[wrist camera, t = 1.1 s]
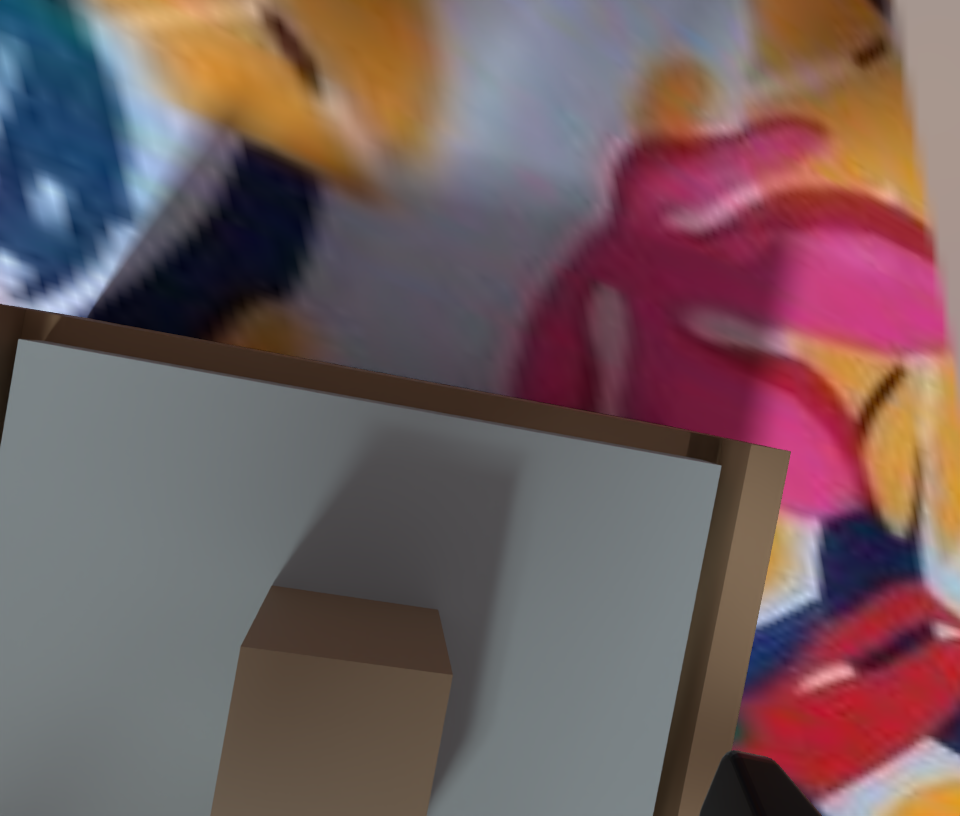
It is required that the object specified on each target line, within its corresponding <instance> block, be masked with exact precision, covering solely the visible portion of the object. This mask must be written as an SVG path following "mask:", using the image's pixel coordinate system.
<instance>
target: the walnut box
mask: <svg viewBox="0 0 960 816" xmlns="http://www.w3.org/2000/svg"><path fill="white" fill-rule="evenodd" d="M18 339H26V340H39V341H48V342H53V343H59V344H64V345H70V346H75V347H81V348H87V349H92V350H98V351H103V352H109V353H114V354H120V355H125V356H131V357H136V358H142V359H147V360H153V361H159V362H164V363H170V364H175V365H181V366H186V367H192V368H197V369H203V370H208V371H214V372H219V373H225V374H231V375H236V376H242V377H247V378H253V379H258V380H264V381H269V382H275V383H280V384H286V385H292V386H297V387H303V388H308V389H314V390H319V391H325V392H330V393H336V394H341V395H347V396H352V397H358V398H364V399H369V400H375V401H380V402H386V403H391V404H397V405H402V406H408V407H413V408H419V409H424V410H430V411H436V412H441V413H447V414H452V415H458V416H463V417H469V418H474V419H480V420H485V421H491V422H496V423H502V424H508V425H513V426H519V427H524V428H530V429H535V430H541V431H546V432H552V433H557V434H563V435H568V436H574V437H580V438H585V439H591V440H596V441H602V442H607V443H613V444H618V445H624V446H629V447H635V448H640V449H646V450H652V451H657V452H663V453H668V454H674V455H679V456H685V457H690V458H696V459H701V460H704V461H708V462H711V463H715V464H718V465H721V471H720V476H719V481H718V487H717V492H716V497H715V502H714V507H713V512H712V517H711V522H710V527H709V532H708V537H707V542H706V548H705V553H704V558H703V563H702V568H701V573H700V578H699V583H698V588H697V593H696V598H695V603H694V609H693V614H692V619H691V624H690V629H689V634H688V639H687V644H686V649H685V654H684V659H683V664H682V670H681V675H680V680H679V685H678V690H677V695H676V700H675V705H674V710H673V715H672V720H671V725H670V731H669V736H668V741H667V746H666V751H665V756H664V761H663V766H662V771H661V776H660V781H659V786H658V792H657V797H656V802H655V807H654V812H653V816H699V814H700V810H701V807H702V805H703V803H704V800H705V798H706V795H707V793H708V790H709V788H710V785H711V783H712V781H713V778H714V776H715V773H716V771H717V768H718V766H719V763H720V761H721V759H722V758H723V756H724V755H725V754H726V753H727V752H729V751H731V750H732V745H733V740H734V735H735V730H736V725H737V720H738V715H739V710H740V705H741V700H742V695H743V690H744V685H745V679H746V674H747V669H748V664H749V659H750V654H751V649H752V644H753V639H754V634H755V629H756V624H757V619H758V614H759V609H760V604H761V599H762V594H763V589H764V584H765V579H766V574H767V569H768V564H769V559H770V554H771V549H772V544H773V539H774V534H775V529H776V524H777V519H778V514H779V509H780V504H781V499H782V494H783V489H784V484H785V479H786V474H787V469H788V464H789V459H790V454H791V452H790V451H786V450H781V449H776V448H771V447H767V446H762V445H757V444H752V443H747V442H743V441H738V440H733V439H728V438H723V437H719V436H714V435H709V434H704V433H700V432H695V431H690V430H685V429H680V428H676V427H671V426H666V425H660V424H655V423H649V422H644V421H639V420H633V419H628V418H623V417H617V416H612V415H606V414H601V413H596V412H590V411H585V410H579V409H574V408H569V407H563V406H558V405H552V404H547V403H542V402H536V401H531V400H526V399H520V398H515V397H509V396H504V395H499V394H493V393H488V392H482V391H477V390H472V389H466V388H461V387H455V386H450V385H445V384H439V383H434V382H428V381H423V380H418V379H412V378H407V377H402V376H396V375H391V374H385V373H380V372H375V371H369V370H364V369H358V368H353V367H348V366H342V365H337V364H331V363H326V362H321V361H315V360H310V359H305V358H299V357H294V356H288V355H283V354H278V353H272V352H267V351H261V350H256V349H251V348H245V347H240V346H234V345H229V344H224V343H218V342H213V341H207V340H202V339H197V338H191V337H186V336H181V335H175V334H170V333H164V332H159V331H154V330H148V329H143V328H137V327H132V326H127V325H121V324H116V323H110V322H105V321H100V320H94V319H89V318H83V317H77V316H71V315H65V314H59V313H52V312H46V311H40V310H34V309H28V308H22V307H16V306H9V305H3V304H0V446H1V440H2V434H3V428H4V422H5V416H6V411H7V405H8V399H9V393H10V387H11V381H12V375H13V369H14V363H15V357H16V351H17V345H18Z"/></svg>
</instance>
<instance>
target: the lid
mask: <svg viewBox="0 0 960 816" xmlns="http://www.w3.org/2000/svg"><path fill="white" fill-rule="evenodd" d="M720 471H721V465H718V464H715V463H711V462H708V461H704V460H701V459H696V458H690V457H685V456H679V455H674V454H668V453H663V452H657V451H652V450H646V449H640V448H635V447H629V446H624V445H618V444H613V443H607V442H602V441H596V440H591V439H585V438H580V437H574V436H568V435H563V434H557V433H552V432H546V431H541V430H535V429H530V428H524V427H519V426H513V425H508V424H502V423H496V422H491V421H485V420H480V419H474V418H469V417H463V416H458V415H452V414H447V413H441V412H436V411H430V410H424V409H419V408H413V407H408V406H402V405H397V404H391V403H386V402H380V401H375V400H369V399H364V398H358V397H352V396H347V395H341V394H336V393H330V392H325V391H319V390H314V389H308V388H303V387H297V386H292V385H286V384H280V383H275V382H269V381H264V380H258V379H253V378H247V377H242V376H236V375H231V374H225V373H219V372H214V371H208V370H203V369H197V368H192V367H186V366H181V365H175V364H170V363H164V362H159V361H153V360H147V359H142V358H136V357H131V356H125V355H120V354H114V353H109V352H103V351H98V350H92V349H87V348H81V347H75V346H70V345H64V344H59V343H53V342H48V341H39V340H26V339H18V345H17V351H16V357H15V363H14V369H13V375H12V381H11V387H10V393H9V399H8V405H7V411H6V416H5V422H4V428H3V434H2V440H1V446H0V816H653V812H654V807H655V802H656V797H657V792H658V786H659V781H660V776H661V771H662V766H663V761H664V756H665V751H666V746H667V741H668V736H669V731H670V725H671V720H672V715H673V710H674V705H675V700H676V695H677V690H678V685H679V680H680V675H681V670H682V664H683V659H684V654H685V649H686V644H687V639H688V634H689V629H690V624H691V619H692V614H693V609H694V603H695V598H696V593H697V588H698V583H699V578H700V573H701V568H702V563H703V558H704V553H705V548H706V542H707V537H708V532H709V527H710V522H711V517H712V512H713V507H714V502H715V497H716V492H717V487H718V481H719V476H720Z"/></svg>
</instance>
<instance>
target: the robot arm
mask: <svg viewBox="0 0 960 816" xmlns="http://www.w3.org/2000/svg"><path fill="white" fill-rule="evenodd" d="M699 816H822V815H821V814H820V813H819V812H818V811H817V809H816V808H815V807H814V806H813V805H812V803H811V802H810V801H809V800H808V799H807V798H806V796H805V795H804V794H803V793H802V792H801V791H800V789H799V788H798V787H797V786H796V785H795V783H794V782H793V781H792V780H791V779H790V778H789V776H788V775H787V774H786V773H785V772H784V770H783V769H782V768H781V767H780V766H779V765H778V764H777V763H776V762H775V761H774V760H772V759H770V758H768V757H765V756H760V755H755V754H751V753H746V752H741V751H735V750H734V751H729V752H727V753H726V754H725V755H724V756H723V758H722V759H721V761H720V763H719V766H718V768H717V771H716V773H715V776H714V778H713V781H712V783H711V785H710V788H709V790H708V793H707V795H706V798H705V800H704V803H703V805H702V807H701V810H700V814H699Z"/></svg>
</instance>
